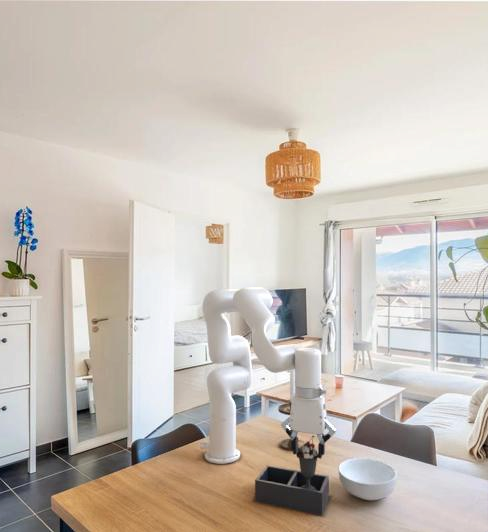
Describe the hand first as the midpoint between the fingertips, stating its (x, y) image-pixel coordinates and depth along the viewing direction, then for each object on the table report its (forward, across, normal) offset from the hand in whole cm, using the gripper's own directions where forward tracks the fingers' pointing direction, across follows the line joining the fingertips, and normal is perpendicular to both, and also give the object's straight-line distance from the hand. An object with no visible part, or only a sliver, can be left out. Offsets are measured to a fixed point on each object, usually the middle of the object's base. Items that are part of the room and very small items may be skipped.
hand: (308, 454), depth 115 cm
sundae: (+10, 0, 0) cm, 10 cm away
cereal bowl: (+14, -15, -11) cm, 23 cm away
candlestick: (+14, +15, -36) cm, 41 cm away
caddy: (+14, +5, 0) cm, 14 cm away
